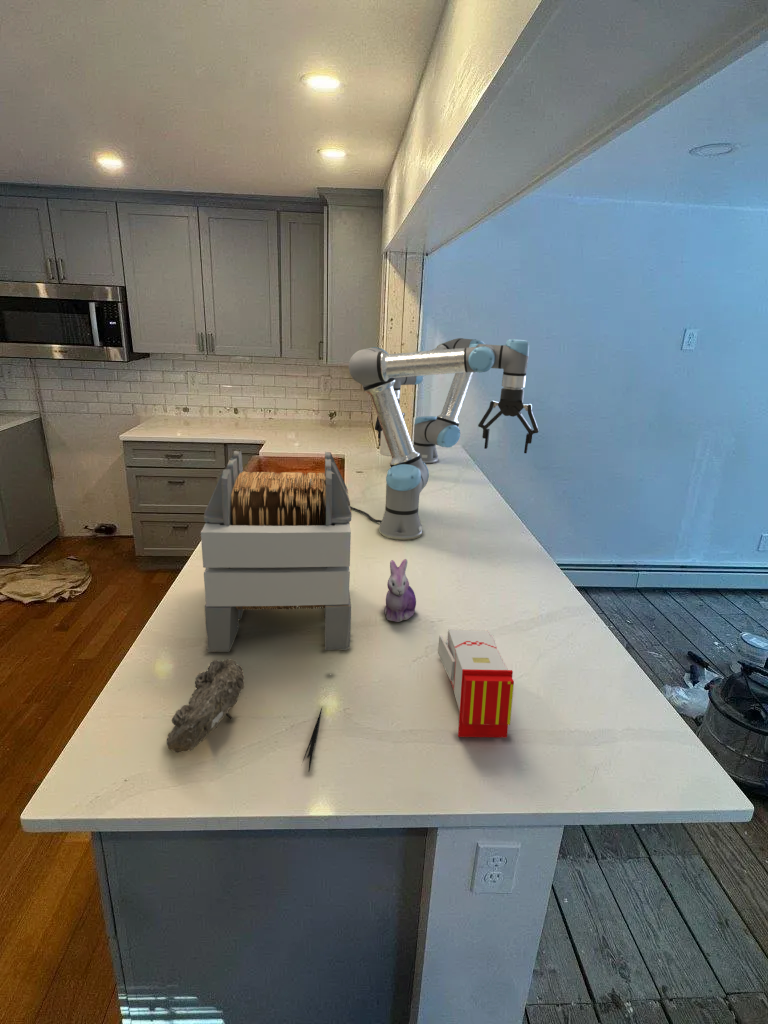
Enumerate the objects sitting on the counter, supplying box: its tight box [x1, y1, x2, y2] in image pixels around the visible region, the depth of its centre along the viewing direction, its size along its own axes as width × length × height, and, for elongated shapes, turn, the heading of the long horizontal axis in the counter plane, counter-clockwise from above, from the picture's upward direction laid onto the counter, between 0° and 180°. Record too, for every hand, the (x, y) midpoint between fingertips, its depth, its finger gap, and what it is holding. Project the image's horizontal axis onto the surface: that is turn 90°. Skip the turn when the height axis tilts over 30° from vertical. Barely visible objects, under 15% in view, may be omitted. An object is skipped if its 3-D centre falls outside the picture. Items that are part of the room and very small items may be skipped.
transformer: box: [200, 450, 353, 653], centre depth 138 cm, size 34×33×41 cm
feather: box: [301, 673, 332, 771], centre depth 108 cm, size 2×28×2 cm
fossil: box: [166, 658, 245, 754], centre depth 106 cm, size 22×10×15 cm
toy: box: [437, 628, 515, 738], centre depth 117 cm, size 12×13×30 cm
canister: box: [379, 431, 391, 457], centre depth 265 cm, size 8×8×11 cm
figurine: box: [384, 558, 417, 623], centre depth 145 cm, size 9×10×15 cm
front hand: (505, 450), depth 196 cm, fingers open, 13 cm apart
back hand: (389, 447), depth 266 cm, fingers closed on canister, 8 cm apart
